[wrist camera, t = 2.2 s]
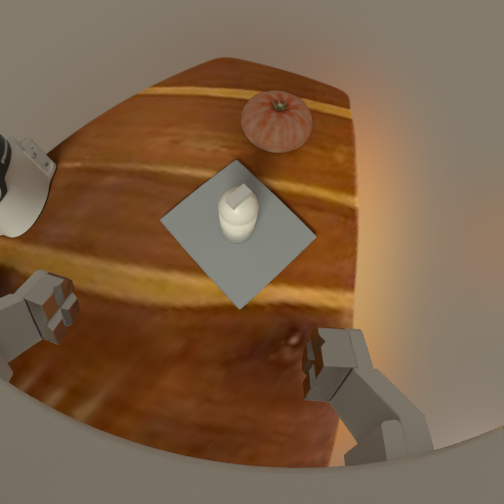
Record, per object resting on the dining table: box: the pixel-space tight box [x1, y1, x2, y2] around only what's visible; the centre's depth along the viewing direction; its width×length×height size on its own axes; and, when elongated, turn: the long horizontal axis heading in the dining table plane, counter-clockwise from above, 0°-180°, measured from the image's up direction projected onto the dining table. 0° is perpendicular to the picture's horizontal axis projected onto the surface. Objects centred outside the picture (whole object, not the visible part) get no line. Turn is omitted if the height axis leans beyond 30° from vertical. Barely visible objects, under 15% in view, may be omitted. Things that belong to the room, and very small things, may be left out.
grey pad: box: [160, 160, 316, 310], centre depth 37 cm, size 16×14×1 cm
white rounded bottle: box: [218, 184, 259, 244], centre depth 32 cm, size 4×4×10 cm
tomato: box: [241, 90, 313, 153], centre depth 38 cm, size 11×11×8 cm
